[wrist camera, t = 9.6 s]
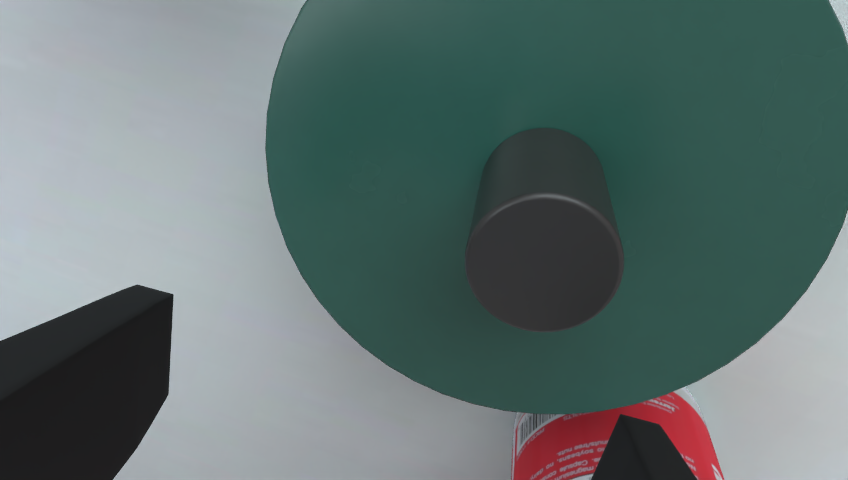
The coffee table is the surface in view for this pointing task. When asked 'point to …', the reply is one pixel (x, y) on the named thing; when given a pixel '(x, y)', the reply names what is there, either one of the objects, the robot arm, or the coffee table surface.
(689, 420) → the pill bottle
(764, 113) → the lid
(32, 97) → the coffee table surface
